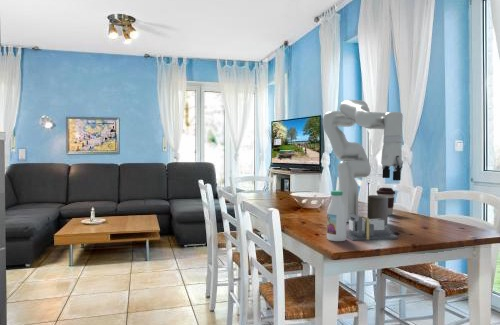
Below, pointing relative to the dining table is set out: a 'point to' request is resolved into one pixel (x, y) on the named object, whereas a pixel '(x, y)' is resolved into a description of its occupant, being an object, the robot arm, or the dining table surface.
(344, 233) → the milk bottle
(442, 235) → the dining table surface
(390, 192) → the coffee cup
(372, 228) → the collar rail
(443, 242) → the dining table surface
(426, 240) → the dining table surface
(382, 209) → the pillar candle
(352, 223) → the white post with dot
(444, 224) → the dining table surface
